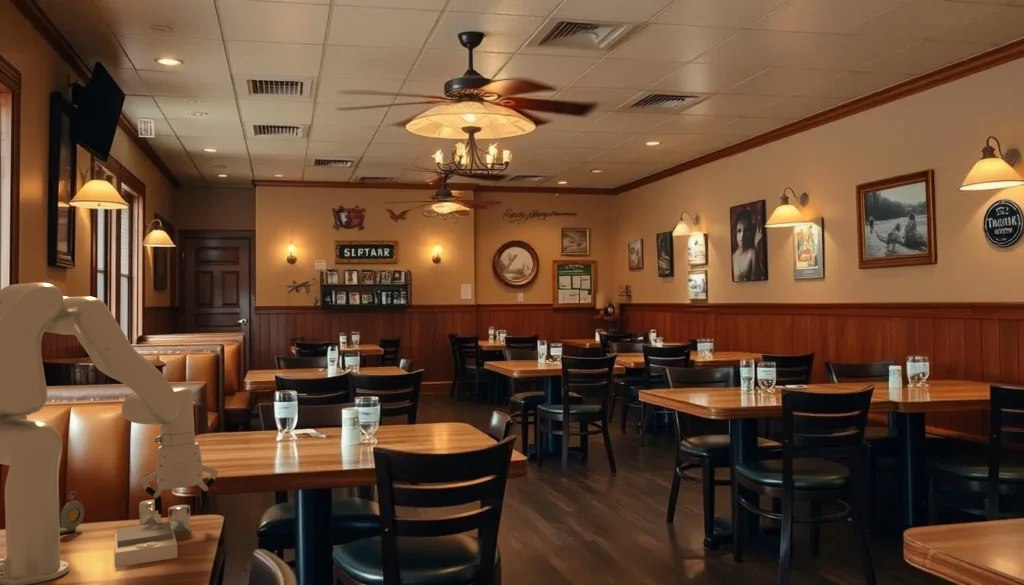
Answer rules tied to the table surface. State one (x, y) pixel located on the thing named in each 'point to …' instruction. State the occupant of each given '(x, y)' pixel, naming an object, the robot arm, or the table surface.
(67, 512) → the pocket watch
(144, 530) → the scale
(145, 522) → the cylinder
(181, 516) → the cylinder
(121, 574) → the table surface
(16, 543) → the robot arm
